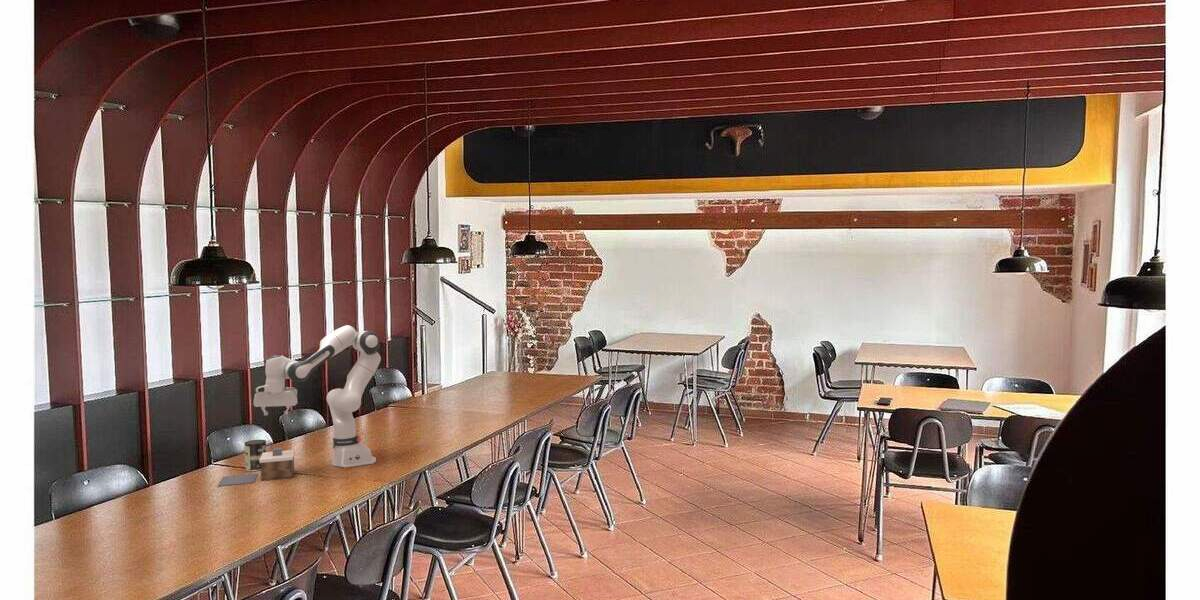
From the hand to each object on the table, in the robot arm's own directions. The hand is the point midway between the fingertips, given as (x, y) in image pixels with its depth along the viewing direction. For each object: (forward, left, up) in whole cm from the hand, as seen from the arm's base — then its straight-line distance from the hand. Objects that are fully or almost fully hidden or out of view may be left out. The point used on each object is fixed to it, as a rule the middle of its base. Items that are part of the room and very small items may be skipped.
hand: (275, 415), depth 386 cm
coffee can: (+12, -16, -30) cm, 36 cm away
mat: (+18, +4, -30) cm, 35 cm away
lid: (0, +2, -21) cm, 21 cm away
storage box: (0, +2, -30) cm, 30 cm away
